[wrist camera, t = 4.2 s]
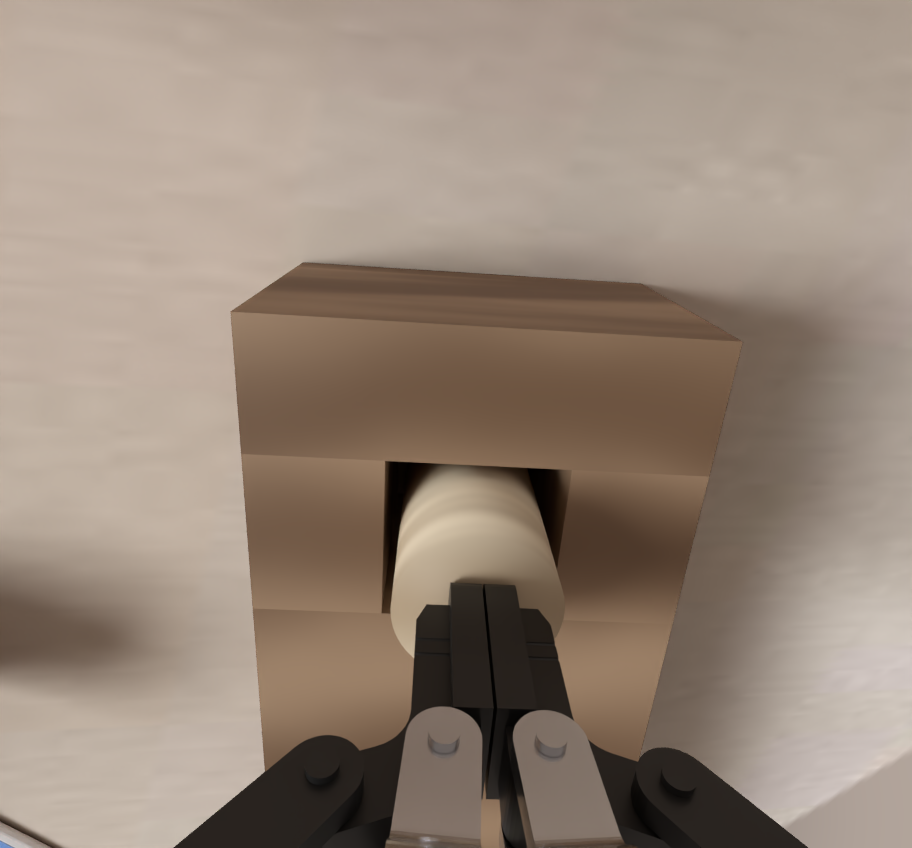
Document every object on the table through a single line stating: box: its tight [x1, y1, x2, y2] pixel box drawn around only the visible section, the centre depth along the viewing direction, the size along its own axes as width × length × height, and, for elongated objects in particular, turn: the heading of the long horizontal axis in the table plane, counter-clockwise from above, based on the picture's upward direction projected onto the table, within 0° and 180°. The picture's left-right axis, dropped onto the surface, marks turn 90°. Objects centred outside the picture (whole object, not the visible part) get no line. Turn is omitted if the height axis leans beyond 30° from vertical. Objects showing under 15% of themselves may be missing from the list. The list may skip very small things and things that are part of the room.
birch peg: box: [390, 462, 565, 658], centre depth 17 cm, size 4×4×7 cm
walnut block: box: [231, 263, 743, 848], centre depth 23 cm, size 28×12×8 cm, turn 176°
